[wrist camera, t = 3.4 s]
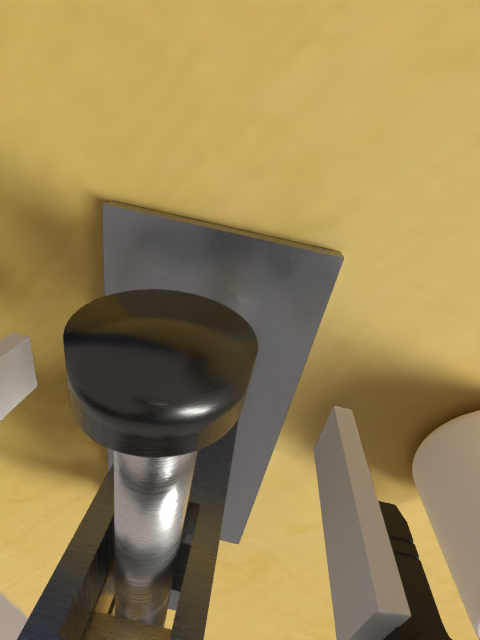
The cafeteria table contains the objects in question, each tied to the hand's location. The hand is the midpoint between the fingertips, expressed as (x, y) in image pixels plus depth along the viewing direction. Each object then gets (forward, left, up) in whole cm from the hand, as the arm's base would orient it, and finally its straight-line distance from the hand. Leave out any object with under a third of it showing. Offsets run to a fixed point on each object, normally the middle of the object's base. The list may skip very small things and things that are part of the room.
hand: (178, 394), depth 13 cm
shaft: (+6, 0, 0) cm, 6 cm away
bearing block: (+8, 0, -6) cm, 10 cm away
